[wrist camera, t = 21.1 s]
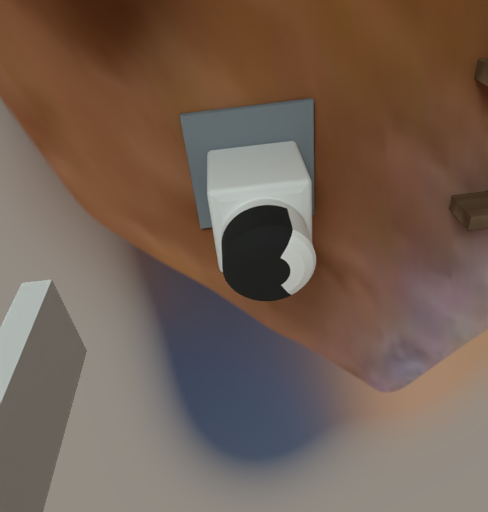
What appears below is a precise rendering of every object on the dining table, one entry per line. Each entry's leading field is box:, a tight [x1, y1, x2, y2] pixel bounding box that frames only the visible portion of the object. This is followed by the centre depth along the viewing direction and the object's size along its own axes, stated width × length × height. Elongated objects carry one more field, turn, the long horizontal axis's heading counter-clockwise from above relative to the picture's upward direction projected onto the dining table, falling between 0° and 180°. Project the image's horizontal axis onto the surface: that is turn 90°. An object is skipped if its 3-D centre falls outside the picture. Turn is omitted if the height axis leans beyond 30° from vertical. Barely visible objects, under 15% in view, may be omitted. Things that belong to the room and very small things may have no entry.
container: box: [207, 141, 316, 301], centre depth 36 cm, size 8×8×13 cm
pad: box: [180, 98, 314, 229], centre depth 41 cm, size 11×11×1 cm
